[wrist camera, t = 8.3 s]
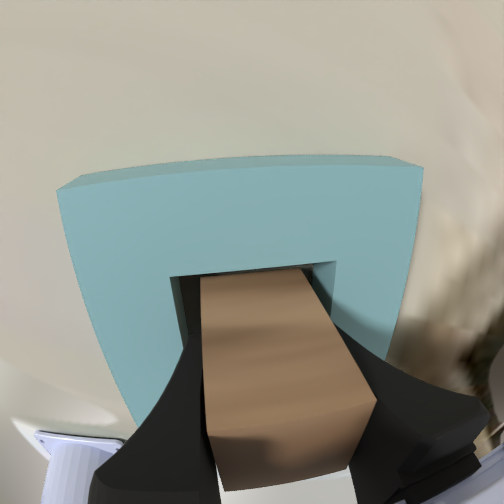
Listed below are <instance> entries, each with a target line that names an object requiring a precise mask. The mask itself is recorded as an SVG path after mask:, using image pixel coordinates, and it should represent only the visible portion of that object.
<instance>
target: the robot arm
mask: <svg viewBox="0 0 504 504" xmlns="http://www.w3.org/2000/svg"><path fill="white" fill-rule="evenodd" d="M333 324H334V326H335V327H336V329H337V331H338V333H339V334H340V336H341V338H342V340H343V341H344V343H345V345H346V346H347V348H348V350H349V352H350V353H351V355H352V357H353V359H354V360H355V362H356V364H357V366H358V367H359V369H360V371H361V373H362V374H363V376H364V378H365V380H366V381H367V383H368V385H369V387H370V389H371V390H372V392H373V394H374V396H375V398H376V399H377V401H376V404H375V406H374V409H373V411H372V414H371V416H370V418H369V421H368V423H367V425H366V428H365V430H364V432H363V434H362V437H361V439H360V441H359V443H358V445H357V448H356V450H355V452H354V454H353V456H352V458H351V460H350V462H349V464H348V465H349V469H350V473H351V477H352V480H353V485H354V489H355V493H356V498H357V503H358V504H504V442H503V443H502V444H501V445H500V446H498V447H497V448H495V449H494V450H492V451H491V452H489V453H488V454H486V455H485V456H483V457H482V458H480V459H479V460H478V459H477V457H476V456H475V454H474V451H475V450H476V446H475V444H474V443H473V441H474V440H475V439H476V437H477V436H478V435H479V434H480V432H481V431H482V430H483V429H484V427H485V426H486V424H487V423H488V421H489V418H490V413H489V412H488V410H487V409H486V408H485V406H484V405H483V404H482V402H481V401H480V400H479V399H478V397H474V396H469V395H464V394H460V393H456V392H452V391H449V390H445V389H442V388H439V387H436V386H434V385H431V384H428V383H426V382H424V381H421V380H419V379H417V378H414V377H412V376H410V375H408V374H406V373H404V372H402V371H401V370H399V369H397V368H395V367H393V366H392V365H390V364H388V363H387V362H385V361H384V360H382V359H381V358H379V357H377V356H376V355H374V354H373V353H372V352H370V351H369V350H367V349H366V348H365V347H363V346H362V345H361V344H359V343H358V342H357V341H356V340H354V339H353V338H352V337H350V336H349V335H348V334H347V333H346V332H344V331H343V330H342V329H341V328H339V327H338V326H337V325H336V324H335V323H333ZM34 437H35V438H36V439H37V440H38V441H39V443H40V444H41V445H42V446H43V447H44V448H45V449H46V450H47V452H48V453H49V454H50V455H51V457H50V461H49V466H48V470H47V474H46V479H45V484H44V489H43V494H42V499H41V504H221V499H220V493H219V485H218V478H217V470H216V462H215V458H214V455H213V451H212V448H211V444H210V440H209V437H208V433H207V425H206V410H205V394H204V376H203V355H202V334H191V335H188V336H187V337H186V341H185V345H184V348H183V351H182V353H181V356H180V358H179V361H178V363H177V365H176V367H175V370H174V372H173V374H172V376H171V378H170V380H169V382H168V384H167V386H166V387H165V389H164V391H163V393H162V395H161V396H160V398H159V400H158V401H157V403H156V404H155V406H154V407H153V409H152V410H151V412H150V413H149V415H148V416H147V417H146V419H145V420H144V421H143V423H142V424H141V425H140V427H139V428H138V429H137V430H136V431H135V433H134V434H133V435H132V436H131V437H130V438H129V439H128V440H127V441H126V442H125V444H123V443H122V442H121V441H119V440H115V439H99V438H87V437H76V436H68V435H60V434H52V433H46V432H40V431H35V433H34Z"/></svg>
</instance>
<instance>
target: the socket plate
mask: <svg viewBox="0 0 504 504" xmlns="http://www.w3.org/2000/svg"><path fill="white" fill-rule="evenodd" d="M423 170H424V168H423V167H420V166H417V165H414V164H411V163H408V162H405V161H402V160H399V159H396V158H393V157H387V156H361V155H281V156H254V157H236V158H220V159H207V160H195V161H184V162H174V163H165V164H156V165H148V166H140V167H132V168H125V169H118V170H111V171H105V172H99V173H92V174H87V175H81V176H80V177H78V178H76V179H74V180H73V181H71V182H69V183H68V184H66V185H64V186H63V187H61V188H59V189H58V190H56V192H57V198H58V203H59V208H60V213H61V218H62V222H63V227H64V231H65V236H66V240H67V244H68V248H69V252H70V255H71V259H72V263H73V266H74V270H75V273H76V277H77V280H78V284H79V287H80V290H81V293H82V296H83V299H84V302H85V305H86V308H87V311H88V314H89V317H90V320H91V323H92V326H93V328H94V331H95V334H96V336H97V339H98V341H99V344H100V347H101V349H102V352H103V354H104V356H105V359H106V361H107V364H108V366H109V368H110V371H111V373H112V375H113V377H114V380H115V382H116V384H117V386H118V388H119V391H120V393H121V395H122V397H123V399H124V401H125V403H126V405H127V407H128V409H129V411H130V413H131V415H132V417H133V419H134V421H135V423H136V425H137V427H138V428H139V427H140V425H141V424H142V423H143V421H144V420H145V419H146V417H147V416H148V415H149V413H150V412H151V410H152V409H153V407H154V406H155V404H156V403H157V401H158V400H159V398H160V396H161V395H162V393H163V391H164V389H165V387H166V386H167V384H168V382H169V380H170V378H171V376H172V374H173V372H174V370H175V367H176V365H177V363H178V361H179V358H180V356H181V353H182V351H183V348H184V345H185V341H186V337H187V336H188V335H189V333H188V328H187V322H186V317H185V311H184V305H183V300H182V294H181V287H180V281H179V276H185V275H196V274H207V273H218V272H229V271H239V270H250V269H260V268H270V267H280V266H290V265H300V264H309V263H313V277H312V289H313V290H314V292H315V294H316V295H317V297H318V299H319V300H320V302H321V304H322V305H323V307H324V309H325V311H326V312H327V314H328V316H329V317H330V319H331V321H332V322H333V323H335V324H336V325H337V326H338V327H339V328H341V329H342V330H343V331H344V332H346V333H347V334H348V335H349V336H350V337H352V338H353V339H354V340H356V341H357V342H358V343H359V344H361V345H362V346H363V347H365V348H366V349H367V350H369V351H370V352H372V353H373V354H374V355H376V356H377V357H379V358H381V359H382V360H384V361H385V359H386V355H387V352H388V349H389V346H390V342H391V339H392V335H393V332H394V328H395V325H396V321H397V317H398V314H399V310H400V306H401V302H402V298H403V293H404V289H405V285H406V280H407V276H408V271H409V266H410V261H411V256H412V250H413V245H414V239H415V233H416V227H417V220H418V213H419V206H420V198H421V190H422V180H423Z"/></svg>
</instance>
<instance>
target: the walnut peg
mask: <svg viewBox="0 0 504 504" xmlns="http://www.w3.org/2000/svg"><path fill="white" fill-rule="evenodd" d="M200 288H201V329H202V355H203V376H204V394H205V410H206V425H207V433H208V437H209V440H210V444H211V448H212V451H213V455H214V458H215V462H216V465H217V468H218V472H219V475H220V478H221V482H222V485H223V488H224V491H225V492H226V491H237V490H245V489H253V488H260V487H267V486H273V485H279V484H285V483H290V482H295V481H300V480H305V479H309V478H314V477H318V476H322V475H326V474H330V473H334V472H337V471H341V470H345V469H346V468H347V466H348V464H349V462H350V460H351V458H352V456H353V454H354V452H355V450H356V448H357V445H358V443H359V441H360V439H361V437H362V434H363V432H364V430H365V428H366V425H367V423H368V421H369V418H370V416H371V414H372V411H373V409H374V406H375V404H376V401H377V399H376V398H375V396H374V394H373V392H372V390H371V389H370V387H369V385H368V383H367V381H366V380H365V378H364V376H363V374H362V373H361V371H360V369H359V367H358V366H357V364H356V362H355V360H354V359H353V357H352V355H351V353H350V352H349V350H348V348H347V346H346V345H345V343H344V341H343V340H342V338H341V336H340V334H339V333H338V331H337V329H336V327H335V326H334V324H333V322H332V321H331V319H330V317H329V316H328V314H327V312H326V311H325V309H324V307H323V305H322V304H321V302H320V300H319V299H318V297H317V295H316V294H315V292H314V290H313V289H312V287H311V285H310V284H309V282H308V280H307V279H306V277H305V275H304V274H303V272H302V270H301V269H300V268H292V269H282V270H272V271H262V272H252V273H242V274H231V275H221V276H210V277H200Z"/></svg>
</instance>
